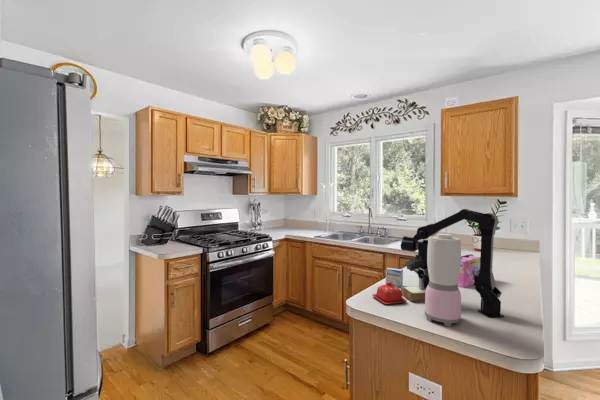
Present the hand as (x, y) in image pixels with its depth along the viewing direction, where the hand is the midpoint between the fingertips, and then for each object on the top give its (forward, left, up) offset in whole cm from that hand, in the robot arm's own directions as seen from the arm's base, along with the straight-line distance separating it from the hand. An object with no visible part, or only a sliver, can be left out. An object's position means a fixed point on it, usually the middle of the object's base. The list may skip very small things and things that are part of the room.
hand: (424, 287), depth 133 cm
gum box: (+19, -36, -5) cm, 42 cm away
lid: (0, +2, -2) cm, 2 cm away
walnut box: (0, +2, -4) cm, 5 cm away
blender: (-22, +5, -5) cm, 23 cm away
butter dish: (-1, +17, -5) cm, 18 cm away
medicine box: (+18, +6, -5) cm, 19 cm away
